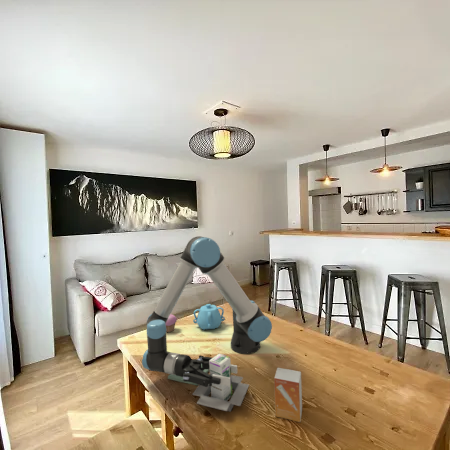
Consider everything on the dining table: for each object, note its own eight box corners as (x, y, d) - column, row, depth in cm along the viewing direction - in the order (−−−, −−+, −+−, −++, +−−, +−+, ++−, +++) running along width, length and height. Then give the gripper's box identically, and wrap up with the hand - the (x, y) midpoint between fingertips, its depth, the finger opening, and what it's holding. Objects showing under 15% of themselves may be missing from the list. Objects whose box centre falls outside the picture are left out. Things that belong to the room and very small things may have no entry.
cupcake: (170, 326, 156) (169, 310, 156) (180, 329, 151) (179, 313, 151) (159, 332, 149) (158, 315, 149) (168, 335, 144) (168, 318, 144)
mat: (185, 360, 117) (185, 358, 117) (212, 365, 112) (212, 363, 112) (167, 378, 104) (167, 376, 104) (197, 385, 99) (197, 383, 99)
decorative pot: (190, 327, 155) (189, 305, 154) (210, 318, 166) (209, 298, 166) (207, 334, 143) (206, 311, 143) (227, 325, 154) (226, 303, 154)
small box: (275, 417, 82) (273, 377, 82) (278, 403, 88) (277, 366, 88) (301, 423, 79) (299, 382, 79) (302, 408, 85) (301, 371, 85)
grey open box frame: (209, 377, 104) (209, 370, 104) (251, 386, 97) (251, 378, 97) (188, 409, 87) (187, 400, 87) (237, 422, 80) (236, 413, 80)
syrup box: (223, 405, 88) (221, 364, 88) (210, 398, 92) (208, 359, 91) (232, 395, 93) (231, 357, 92) (220, 389, 96) (218, 352, 96)
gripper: (191, 360, 108) (242, 370, 99) (164, 390, 89) (224, 405, 81) (190, 343, 108) (241, 351, 99) (163, 369, 89) (223, 382, 81)
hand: (233, 375), depth 90 cm, fingers closed on syrup box, 7 cm apart
